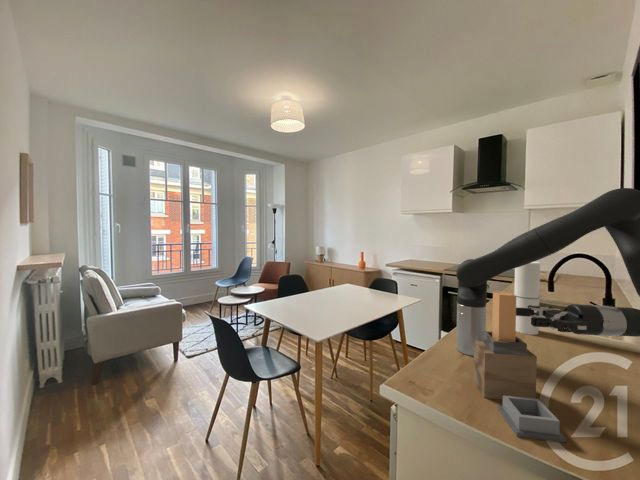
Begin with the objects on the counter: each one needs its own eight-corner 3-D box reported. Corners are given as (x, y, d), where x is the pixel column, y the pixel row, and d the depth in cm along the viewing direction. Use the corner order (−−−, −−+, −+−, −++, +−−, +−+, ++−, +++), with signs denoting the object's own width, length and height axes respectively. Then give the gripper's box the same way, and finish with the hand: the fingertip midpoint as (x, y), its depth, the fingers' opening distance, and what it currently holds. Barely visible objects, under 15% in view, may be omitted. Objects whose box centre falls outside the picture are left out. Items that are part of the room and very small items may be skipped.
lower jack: (497, 409, 67) (498, 393, 67) (539, 413, 66) (539, 397, 65) (516, 436, 58) (517, 418, 58) (565, 442, 57) (565, 423, 57)
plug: (492, 344, 77) (493, 291, 76) (507, 345, 76) (509, 292, 75) (498, 350, 73) (499, 295, 72) (515, 351, 72) (516, 295, 71)
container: (527, 327, 122) (529, 260, 121) (543, 334, 114) (545, 263, 113) (508, 327, 122) (510, 260, 121) (523, 335, 114) (525, 263, 112)
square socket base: (473, 380, 80) (474, 330, 79) (519, 385, 77) (520, 333, 77) (484, 397, 72) (485, 341, 71) (535, 402, 70) (537, 345, 69)
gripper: (574, 298, 77) (509, 295, 80) (618, 314, 63) (539, 310, 66) (573, 324, 77) (509, 321, 80) (617, 346, 63) (538, 340, 66)
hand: (522, 316), depth 73 cm, fingers open, 8 cm apart
